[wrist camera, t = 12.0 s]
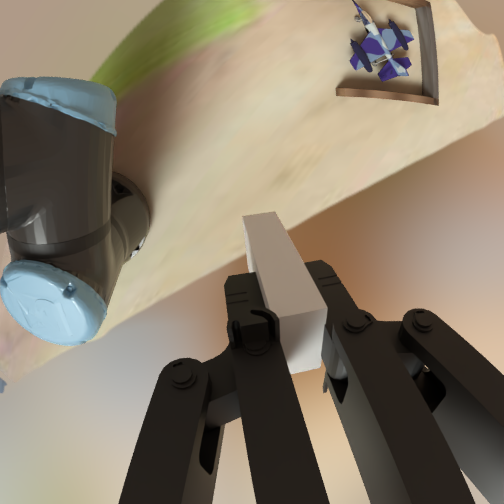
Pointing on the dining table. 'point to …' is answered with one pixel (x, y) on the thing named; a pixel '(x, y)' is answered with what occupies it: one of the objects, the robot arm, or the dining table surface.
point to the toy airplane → (381, 48)
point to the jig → (427, 61)
